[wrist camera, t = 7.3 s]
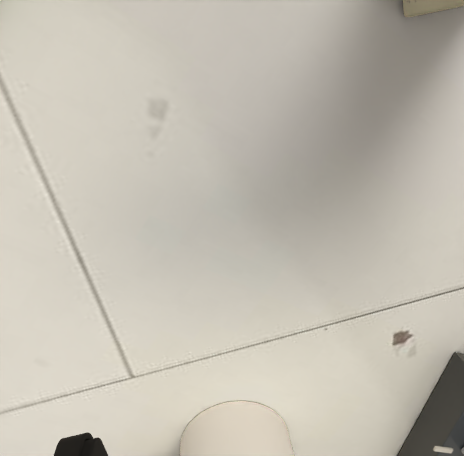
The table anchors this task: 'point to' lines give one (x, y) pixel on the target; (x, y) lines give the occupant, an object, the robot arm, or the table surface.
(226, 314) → the table surface
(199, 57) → the table surface
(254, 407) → the mug
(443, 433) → the plate
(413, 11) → the box
